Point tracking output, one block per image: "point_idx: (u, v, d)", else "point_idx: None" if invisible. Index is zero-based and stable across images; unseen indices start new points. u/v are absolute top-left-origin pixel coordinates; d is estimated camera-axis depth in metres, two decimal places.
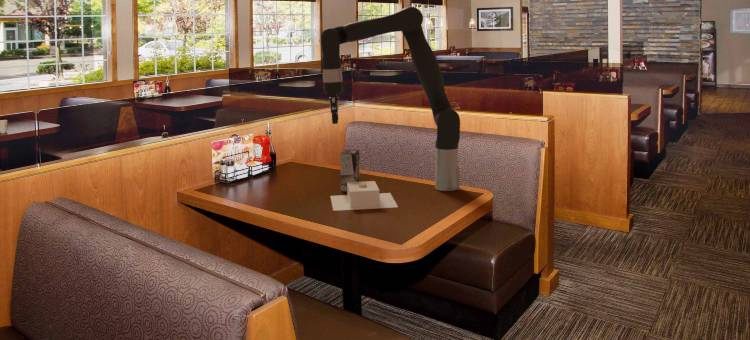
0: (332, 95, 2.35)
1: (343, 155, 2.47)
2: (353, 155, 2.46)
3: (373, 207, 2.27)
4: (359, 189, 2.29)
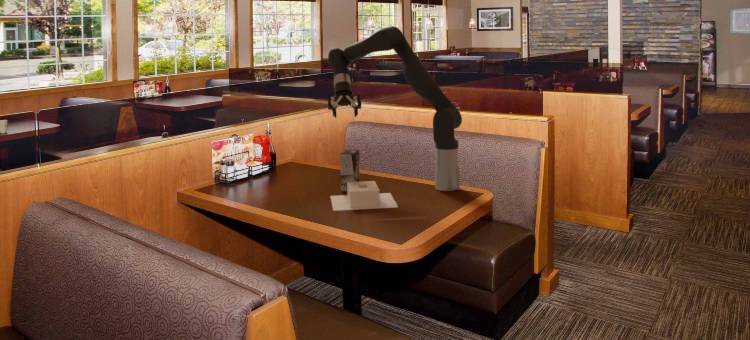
0: None
1: (343, 155, 2.47)
2: (353, 155, 2.46)
3: (373, 207, 2.27)
4: (359, 189, 2.29)
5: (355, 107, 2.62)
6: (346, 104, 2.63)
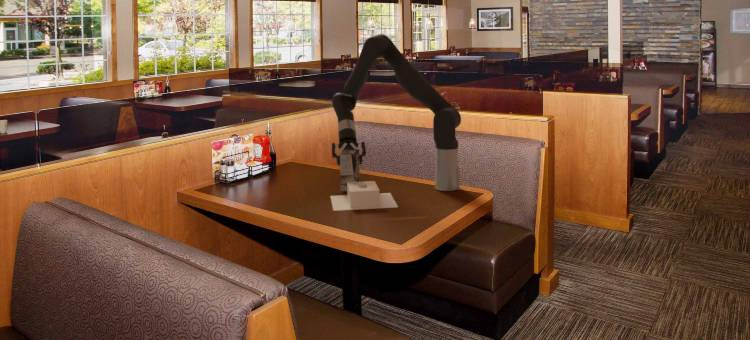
0: (339, 143, 2.60)
1: (343, 155, 2.46)
2: (353, 155, 2.45)
3: (373, 207, 2.27)
4: (359, 189, 2.29)
5: (359, 155, 2.56)
6: None
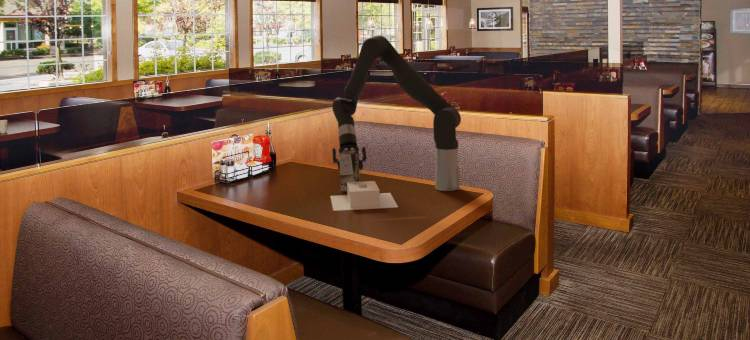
0: None
1: (342, 155, 2.47)
2: (352, 155, 2.46)
3: (373, 207, 2.27)
4: (359, 189, 2.29)
5: (360, 160, 2.54)
6: None
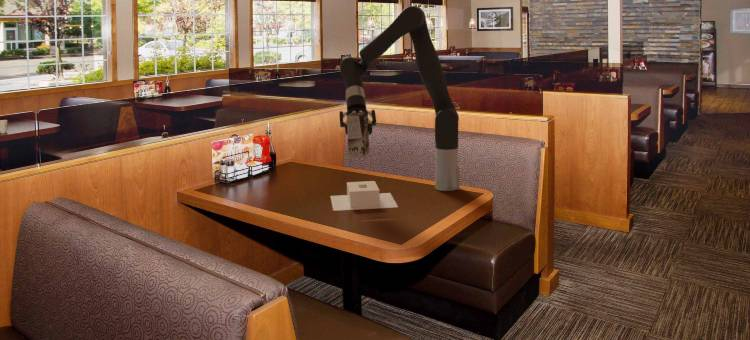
0: None
1: (350, 117, 2.26)
2: (361, 116, 2.26)
3: (373, 207, 2.27)
4: (359, 189, 2.29)
5: (369, 124, 2.34)
6: None
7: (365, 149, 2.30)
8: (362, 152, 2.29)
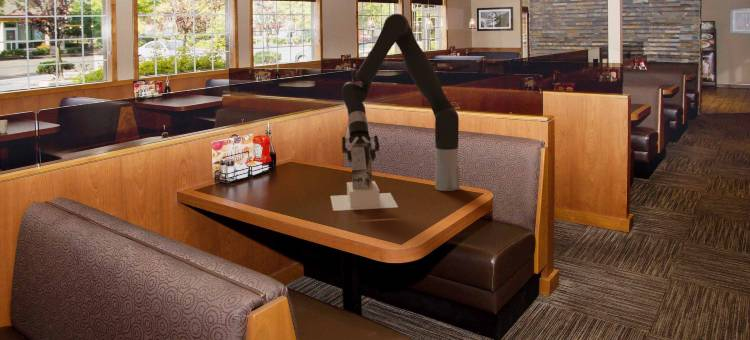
0: None
1: (355, 148, 2.26)
2: (366, 148, 2.26)
3: (373, 207, 2.27)
4: (359, 189, 2.29)
5: (372, 150, 2.34)
6: None
7: (369, 180, 2.30)
8: (366, 183, 2.29)
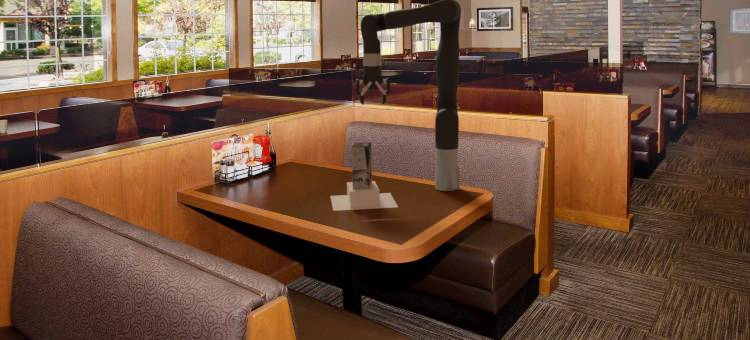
0: (363, 77, 2.52)
1: (355, 148, 2.26)
2: (366, 148, 2.26)
3: (373, 207, 2.27)
4: (359, 189, 2.29)
5: (383, 95, 2.54)
6: None
7: (369, 180, 2.30)
8: (366, 183, 2.29)
